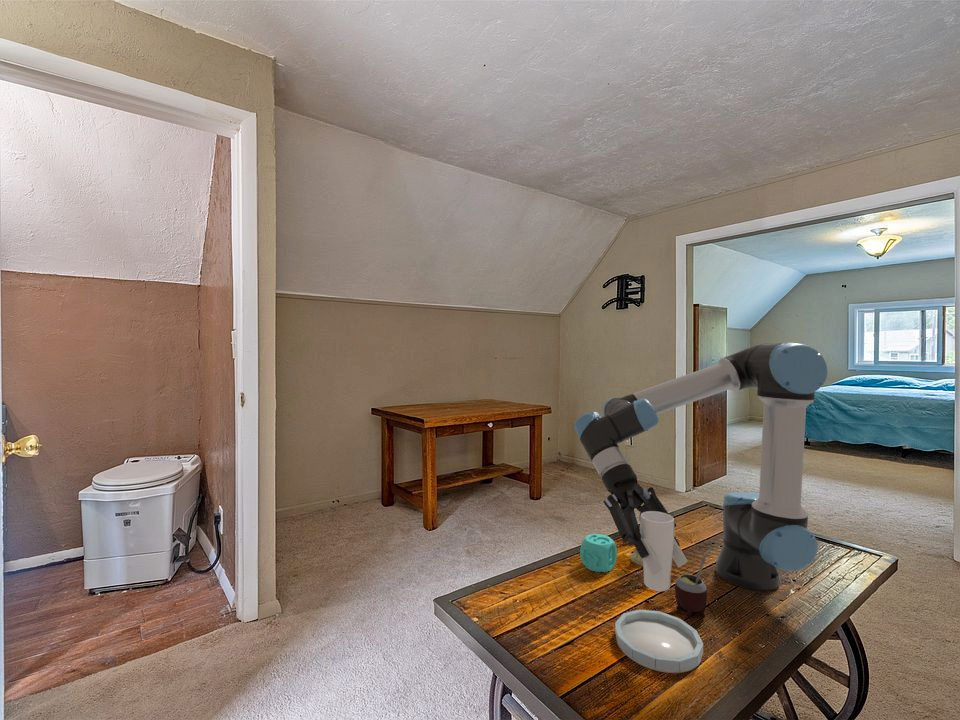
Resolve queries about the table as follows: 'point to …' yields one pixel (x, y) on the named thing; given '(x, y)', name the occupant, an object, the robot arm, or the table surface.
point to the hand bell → (637, 554)
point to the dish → (659, 641)
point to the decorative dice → (598, 552)
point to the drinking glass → (658, 547)
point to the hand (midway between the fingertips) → (670, 568)
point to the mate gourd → (692, 592)
